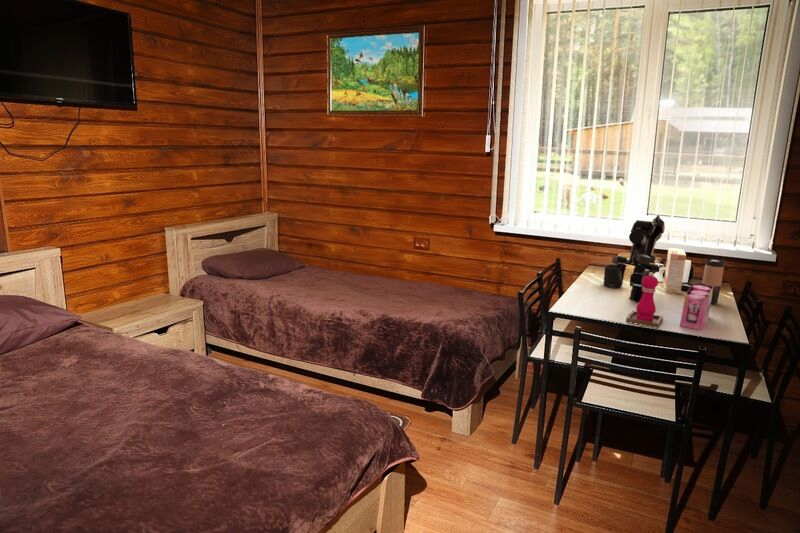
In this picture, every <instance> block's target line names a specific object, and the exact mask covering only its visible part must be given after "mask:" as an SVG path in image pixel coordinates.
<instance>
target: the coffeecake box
mask: <svg viewBox="0 0 800 533" xmlns="http://www.w3.org/2000/svg"><path fill="white" fill-rule="evenodd" d="M667 249H668V251H667V257H666V265H665V271H664V277H663V283H662V284H663V285H662V286H663V289H664V292H665V293H668V292H669V293H670V294H677V293H678V294H680V295H681V293H682V286H683V285H682V284H683V280H684V272H685V266H686V261H687V260H686V258H687V254H686V252H685V250H684V249H681V248H674V247H668V248H667Z"/></svg>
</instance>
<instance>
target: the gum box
mask: <svg viewBox="0 0 800 533" xmlns="http://www.w3.org/2000/svg"><path fill="white" fill-rule="evenodd" d="M713 287H714V286H710V285H703V284H702V283H695V282H694V283H692V285H691V286H690V288H689V289H688V290H687V291H686V292H685V296H684V302H683V307H682V312H681V317H680V324H679V326H680V327H682V326H684V327H683V328H687V327H689V328H688V329H691V328H694V329H693V330H696V329H698V331H702V329H703V328H704V326H705V324H706V322H707V321H708V319H709V317H710V310H711V305H712V304H711V299H712V293H713Z"/></svg>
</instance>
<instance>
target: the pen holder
mask: <svg viewBox="0 0 800 533" xmlns="http://www.w3.org/2000/svg"><path fill="white" fill-rule="evenodd" d="M625 272H626V270H625V271H624V273H625ZM623 283H624V280H623V281H622V282H621V281H620V277H619V273H618V270H617V267H616V266H615V264H606V265H605V266H604V274H603V285H604V287H607V288H610V287H611V288H612V289H621V288H622V287H623ZM620 287H621V288H620Z"/></svg>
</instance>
